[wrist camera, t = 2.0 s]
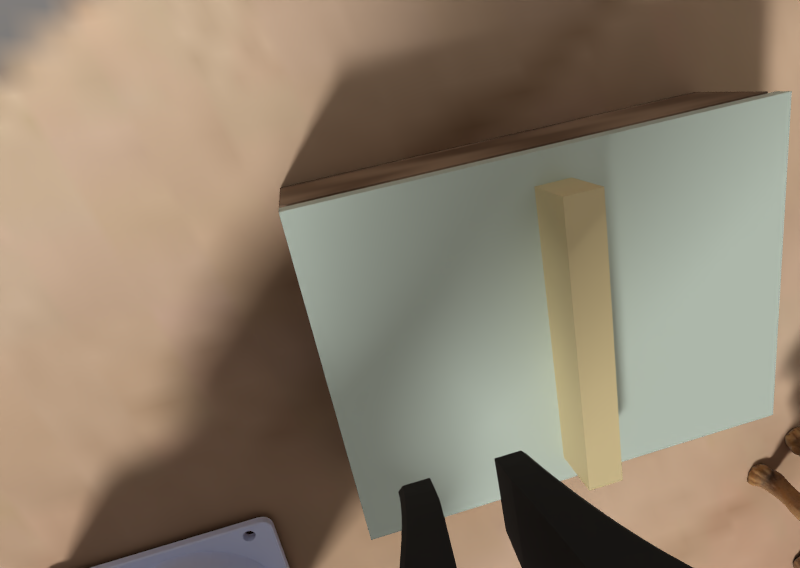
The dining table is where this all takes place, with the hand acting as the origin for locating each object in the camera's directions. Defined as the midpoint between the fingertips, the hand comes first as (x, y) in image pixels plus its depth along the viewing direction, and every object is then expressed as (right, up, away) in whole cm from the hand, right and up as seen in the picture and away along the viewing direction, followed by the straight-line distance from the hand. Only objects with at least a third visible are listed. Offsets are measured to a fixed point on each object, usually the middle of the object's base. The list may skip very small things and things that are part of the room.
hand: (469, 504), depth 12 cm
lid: (+4, +3, +7) cm, 9 cm away
